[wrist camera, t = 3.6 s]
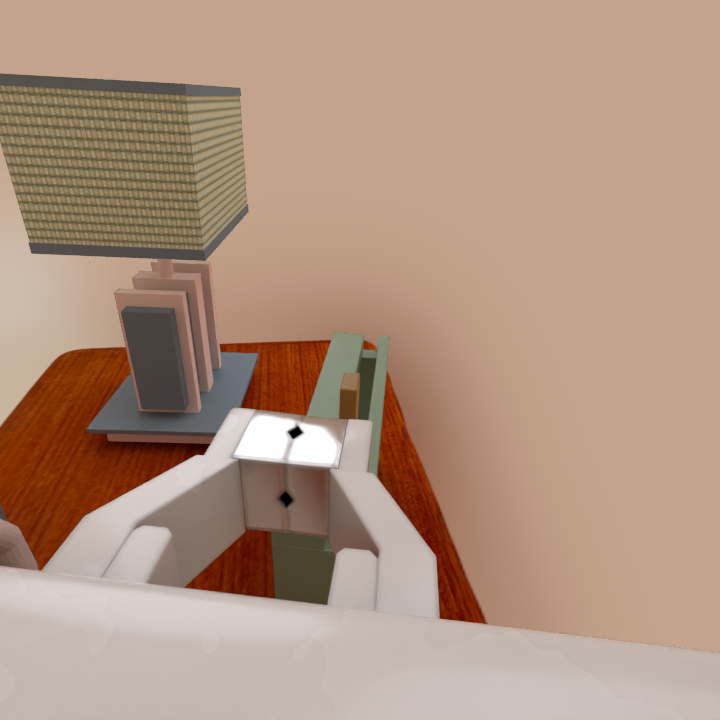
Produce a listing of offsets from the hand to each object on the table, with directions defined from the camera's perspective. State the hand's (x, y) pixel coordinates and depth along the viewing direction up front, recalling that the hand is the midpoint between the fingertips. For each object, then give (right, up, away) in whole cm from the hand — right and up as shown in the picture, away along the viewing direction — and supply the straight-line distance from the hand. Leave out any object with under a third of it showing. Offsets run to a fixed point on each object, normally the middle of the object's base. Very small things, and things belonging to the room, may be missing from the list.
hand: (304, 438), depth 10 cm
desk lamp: (-19, -4, +45) cm, 49 cm away
